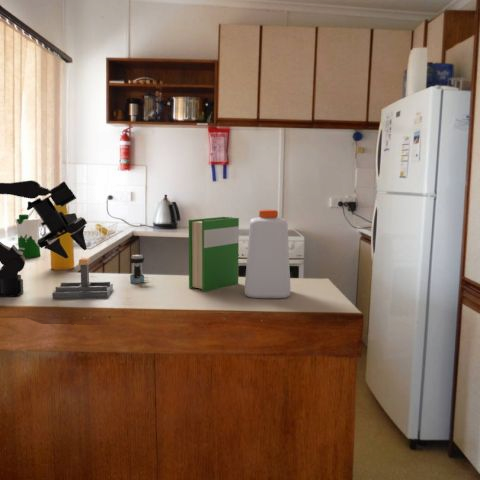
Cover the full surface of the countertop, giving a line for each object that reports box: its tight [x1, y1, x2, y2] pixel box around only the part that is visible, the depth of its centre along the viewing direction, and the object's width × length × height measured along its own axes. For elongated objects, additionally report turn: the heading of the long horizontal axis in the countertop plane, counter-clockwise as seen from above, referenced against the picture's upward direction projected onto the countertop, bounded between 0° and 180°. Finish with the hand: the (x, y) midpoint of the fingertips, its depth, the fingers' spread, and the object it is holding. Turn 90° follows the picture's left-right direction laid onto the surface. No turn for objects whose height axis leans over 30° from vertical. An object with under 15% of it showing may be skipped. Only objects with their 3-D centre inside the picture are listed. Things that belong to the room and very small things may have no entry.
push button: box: [129, 254, 149, 284], centre depth 184 cm, size 7×5×10 cm
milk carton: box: [15, 214, 41, 259], centre depth 236 cm, size 9×9×20 cm
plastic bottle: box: [243, 209, 292, 299], centre depth 167 cm, size 15×15×28 cm
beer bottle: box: [49, 202, 75, 271], centre depth 209 cm, size 9×9×29 cm
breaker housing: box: [51, 281, 114, 300], centre depth 166 cm, size 17×12×3 cm
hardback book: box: [188, 216, 240, 293], centre depth 178 cm, size 18×7×24 cm, turn 139°
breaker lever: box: [78, 257, 91, 286], centre depth 165 cm, size 3×5×10 cm, turn 7°
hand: (76, 253), depth 170 cm, fingers open, 9 cm apart
